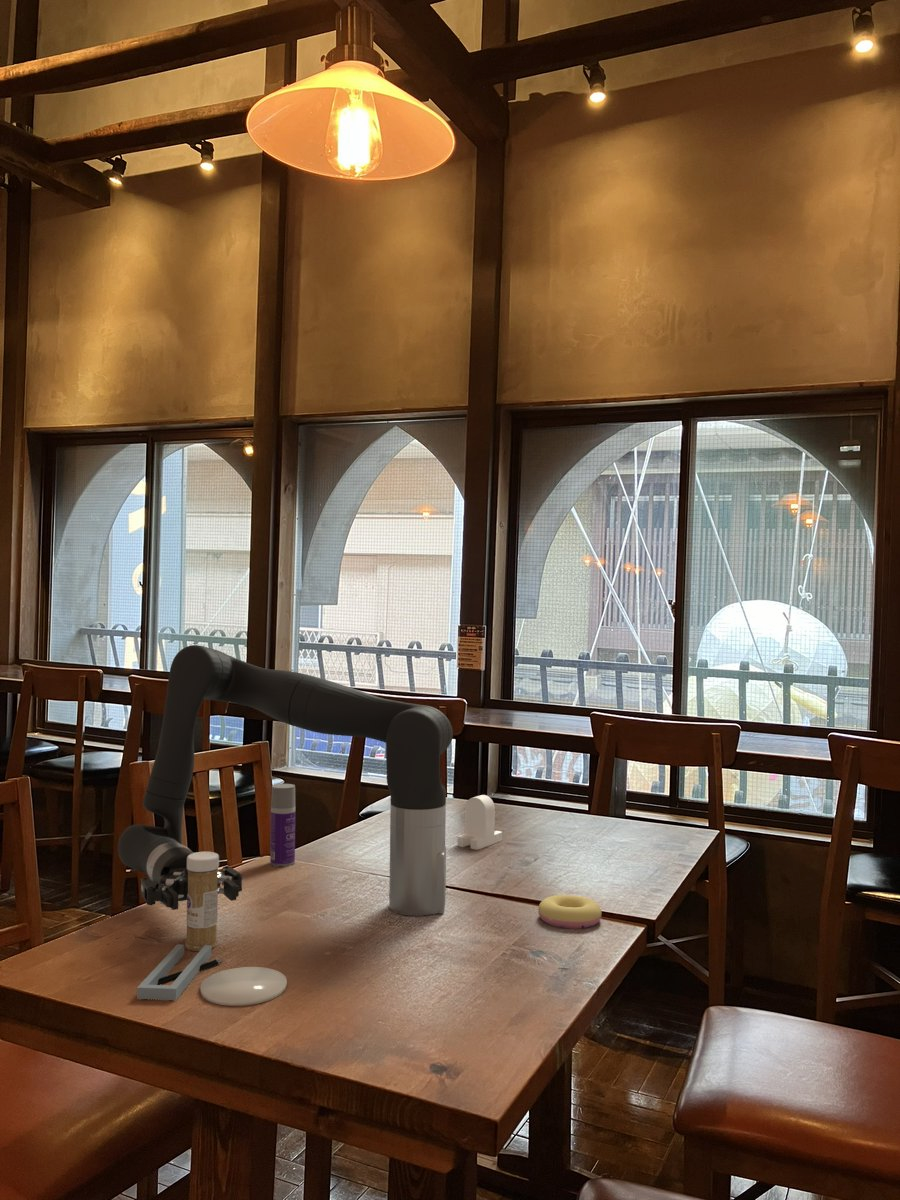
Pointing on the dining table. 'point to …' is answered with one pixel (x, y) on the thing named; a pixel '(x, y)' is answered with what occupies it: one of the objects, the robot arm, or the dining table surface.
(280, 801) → the container
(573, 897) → the donut
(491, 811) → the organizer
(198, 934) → the sprinkles bottle
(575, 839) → the dining table surface
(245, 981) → the coaster
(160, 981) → the black marker pen
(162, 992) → the grey u-shaped piece
